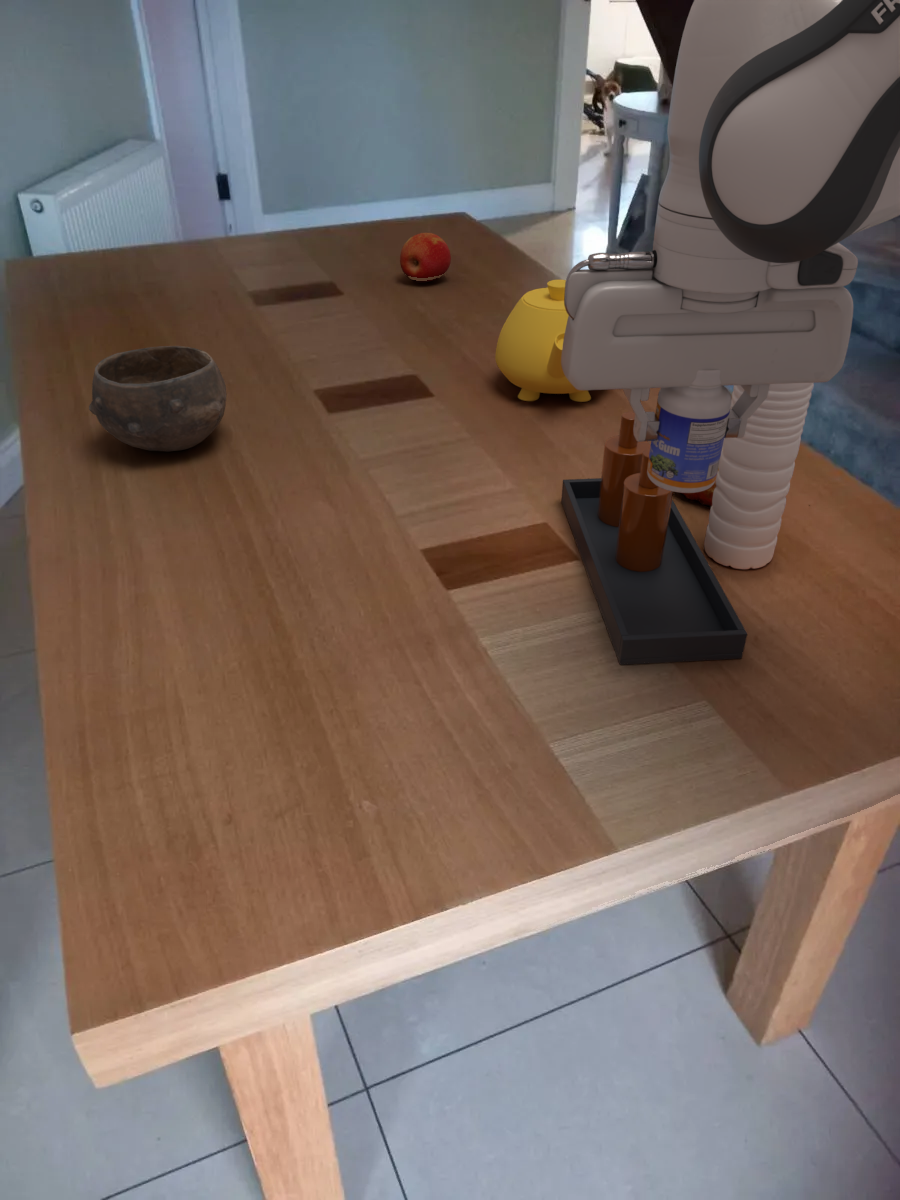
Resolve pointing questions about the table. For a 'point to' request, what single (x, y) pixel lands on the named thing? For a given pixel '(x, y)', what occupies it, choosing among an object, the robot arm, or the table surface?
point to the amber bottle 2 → (642, 521)
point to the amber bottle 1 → (619, 468)
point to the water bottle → (756, 478)
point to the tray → (653, 590)
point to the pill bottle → (690, 434)
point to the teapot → (537, 344)
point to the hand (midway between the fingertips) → (688, 436)
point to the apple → (425, 256)
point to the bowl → (159, 397)
